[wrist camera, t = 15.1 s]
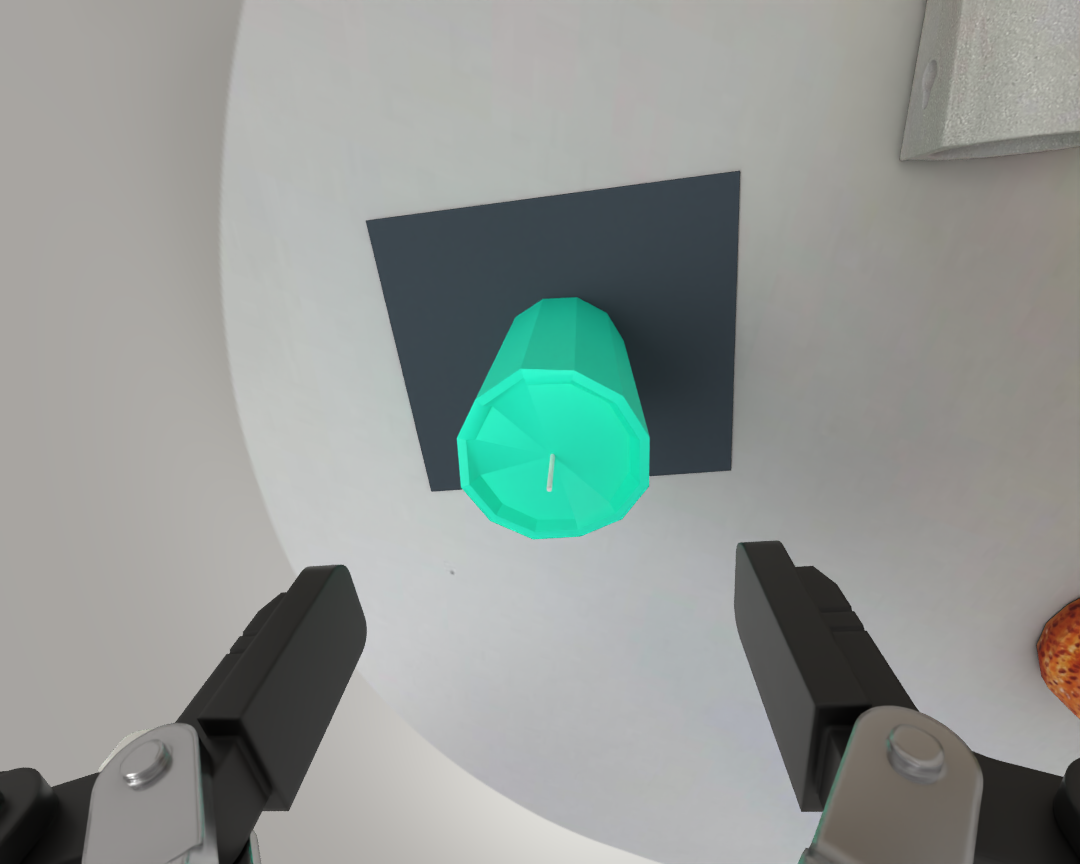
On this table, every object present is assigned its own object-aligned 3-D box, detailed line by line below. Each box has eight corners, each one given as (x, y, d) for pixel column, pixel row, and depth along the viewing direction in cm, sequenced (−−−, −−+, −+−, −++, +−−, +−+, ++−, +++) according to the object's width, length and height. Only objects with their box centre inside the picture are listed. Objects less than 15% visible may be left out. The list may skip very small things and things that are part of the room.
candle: (641, 311, 24) (688, 415, 14) (607, 427, 27) (625, 593, 16) (512, 282, 24) (457, 365, 13) (491, 402, 27) (430, 552, 16)
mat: (431, 490, 29) (431, 491, 29) (366, 220, 24) (365, 220, 24) (730, 469, 28) (730, 470, 27) (739, 170, 22) (740, 170, 22)
